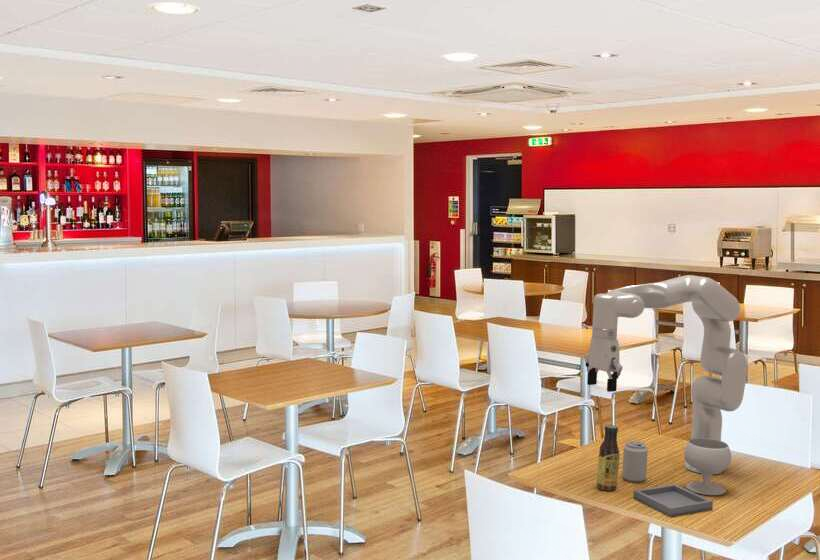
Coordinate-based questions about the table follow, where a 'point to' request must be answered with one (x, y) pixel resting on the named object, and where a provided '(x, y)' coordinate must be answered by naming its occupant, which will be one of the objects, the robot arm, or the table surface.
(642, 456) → the can
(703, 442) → the chalice
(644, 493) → the tray
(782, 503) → the table surface
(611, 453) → the sauce bottle
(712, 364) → the robot arm
